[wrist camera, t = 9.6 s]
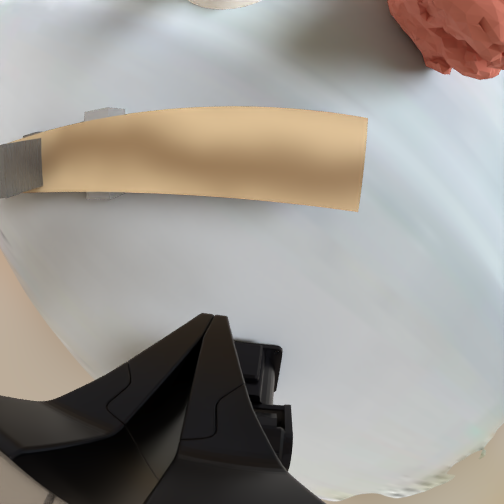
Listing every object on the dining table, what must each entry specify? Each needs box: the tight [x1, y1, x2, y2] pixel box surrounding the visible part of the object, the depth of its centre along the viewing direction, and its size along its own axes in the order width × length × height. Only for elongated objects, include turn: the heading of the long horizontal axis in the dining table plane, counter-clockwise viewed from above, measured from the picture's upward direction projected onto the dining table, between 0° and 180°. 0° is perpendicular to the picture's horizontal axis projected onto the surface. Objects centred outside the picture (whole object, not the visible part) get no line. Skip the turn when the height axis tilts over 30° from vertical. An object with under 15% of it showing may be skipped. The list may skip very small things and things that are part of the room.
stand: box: [23, 107, 125, 200], centre depth 18 cm, size 7×29×2 cm, turn 87°
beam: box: [7, 106, 368, 212], centre depth 16 cm, size 5×30×2 cm, turn 87°
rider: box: [0, 138, 43, 198], centre depth 15 cm, size 4×7×4 cm, turn 87°
